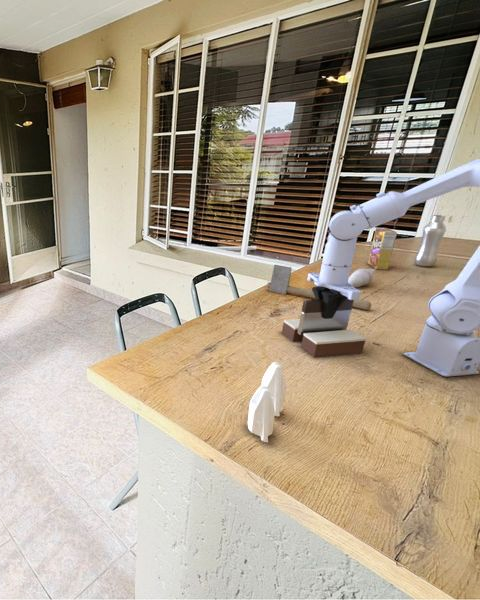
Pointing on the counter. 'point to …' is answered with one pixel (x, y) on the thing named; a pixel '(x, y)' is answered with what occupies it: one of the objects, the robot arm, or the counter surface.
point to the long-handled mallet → (282, 286)
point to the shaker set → (267, 402)
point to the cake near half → (333, 343)
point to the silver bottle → (431, 241)
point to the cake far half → (292, 329)
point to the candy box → (382, 248)
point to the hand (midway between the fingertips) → (325, 316)
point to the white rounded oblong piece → (361, 277)
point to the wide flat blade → (314, 317)
